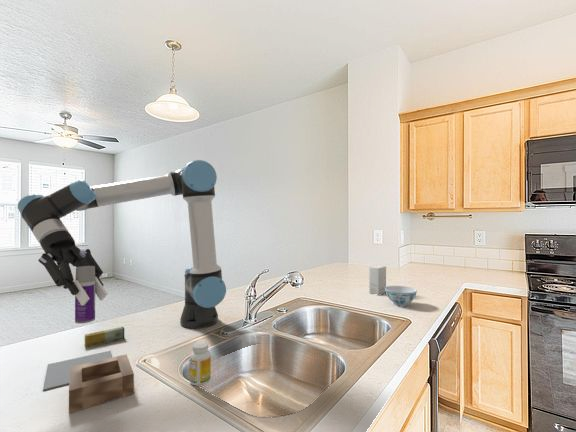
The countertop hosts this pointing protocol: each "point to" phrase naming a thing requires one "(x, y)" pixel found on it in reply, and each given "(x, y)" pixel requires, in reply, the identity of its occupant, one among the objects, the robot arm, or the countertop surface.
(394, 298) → the chinaware
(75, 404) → the walnut box
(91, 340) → the medication box
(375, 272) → the skincare box
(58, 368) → the grey mat
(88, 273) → the container
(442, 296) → the countertop surface
